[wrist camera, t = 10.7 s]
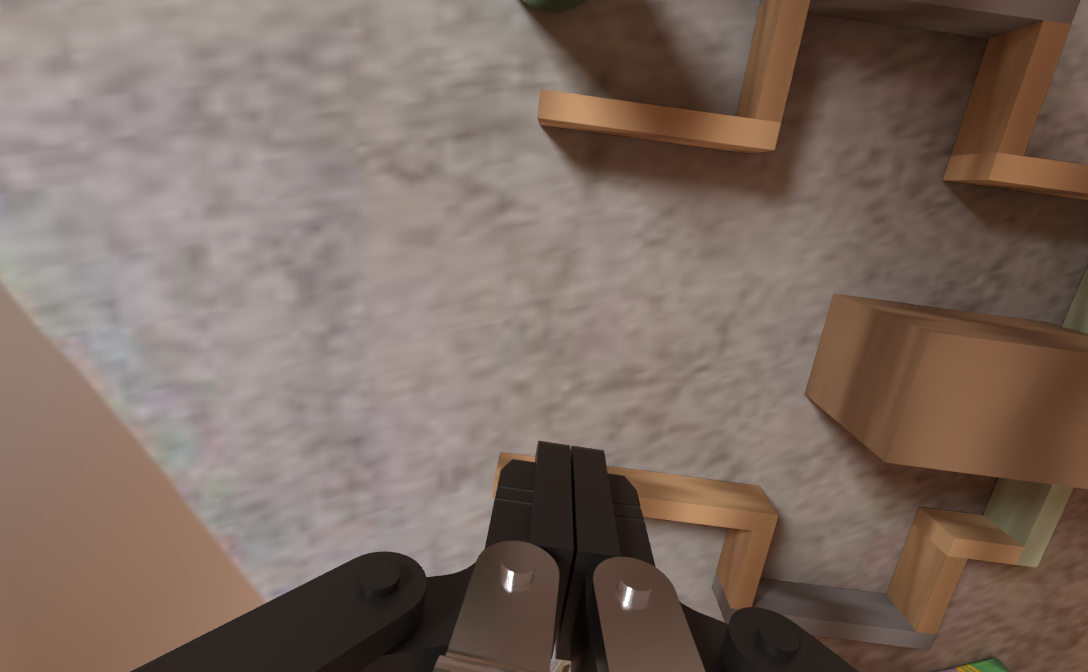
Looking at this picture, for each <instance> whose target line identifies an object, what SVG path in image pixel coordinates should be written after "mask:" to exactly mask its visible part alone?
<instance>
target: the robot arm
mask: <svg viewBox="0 0 1088 672" xmlns="http://www.w3.org/2000/svg"><path fill="white" fill-rule="evenodd" d="M640 507H641V505H640V501H639V497H638V493H637V490H636V489H635V488H634V486H633V485H632V484H631V483H630V482H629V481H628V479H627V478H626V477H625V476H623V475H617V474H610V473H608V472H607V466H606V460H605V454H604V451H603V450H598V449H591V448H584V447H578V446H572V447H571V450H570V445H564V444H557V443H551V442H544V441H538V445H537V450H536V456H535V462H530V461H523V460H516V459H512V460H511V461H510V462H509V463H508V464H507V465H505V466H504V467H503V468H502V469H501V471H500V476H499V481H498V486H497V491H496V496H495V501H494V506H493V511H492V516H491V521H490V526H489V531H488V535H487V540H486V545H485V549H484V551H482V553H481V554H480V555H479V557H478V559H477V561H476V562H475V563H474V564H473V565H472V566H470V567H468V568H467V569H465V570H462V571H460V572H457V573H453V574H449V575H443V576H434V577H426V575H425V572H424V570H423V569H422V567H421V566H420V565H419V564H418V563H417V562H416V561H415V560H413V559H412V558H410V557H408V556H406V555H403V554H400V553H395V552H374V553H368V554H365V555H362V556H359V557H357V558H355V559H353V560H351V561H349V562H347V563H345V564H343V565H341V566H339V567H337V568H335V569H333V570H331V571H329V572H327V573H325V574H323V575H321V576H319V577H317V578H315V579H313V580H311V581H309V582H307V583H305V584H303V585H301V586H299V587H297V588H295V589H293V590H291V591H289V592H287V593H285V594H283V595H281V596H279V597H277V598H275V599H273V600H271V601H269V602H267V603H265V604H263V605H261V606H260V607H258V608H256V609H254V610H252V611H250V612H248V613H246V614H244V615H242V616H240V617H238V618H236V619H234V620H232V621H230V622H228V623H226V624H224V625H222V626H220V627H218V628H216V629H214V630H212V631H210V632H208V633H206V634H204V635H202V636H200V637H198V638H196V639H194V640H192V641H190V642H188V643H186V644H185V645H182V646H180V647H178V648H176V649H175V650H172V651H170V652H169V653H166V654H165V655H163V656H161V657H159V658H157V659H155V660H153V661H151V662H149V663H147V664H145V665H143V666H141V667H139V668H137V669H135V670H133V671H131V672H550V663H551V659H552V655H553V650H554V645H555V640H556V659H559V660H566V661H570V662H571V672H858V671H857V670H856V669H854V668H853V667H852V666H850V665H849V664H848V663H846V662H845V661H844V660H843V659H841V658H840V657H839V656H837V655H836V654H835V653H834V652H832V651H831V650H830V649H828V648H827V647H826V646H825V645H823V644H822V643H821V642H819V641H818V640H817V639H816V638H814V637H813V636H812V635H810V634H809V633H808V632H806V631H805V630H804V629H803V628H801V627H800V626H799V625H797V624H796V623H795V622H793V621H792V620H790V619H788V618H787V617H785V616H783V615H781V614H779V613H777V612H774V611H771V610H768V609H764V608H759V607H746V608H741V609H739V610H737V611H736V612H735V613H733V614H732V616H731V618H730V620H729V623H728V624H726V623H724V622H721V621H719V620H716V619H714V618H711V617H709V616H706V615H704V614H701V613H699V612H697V611H695V610H693V609H691V608H689V607H687V606H685V605H684V604H682V603H681V602H680V601H679V599H678V596H677V593H676V591H675V589H674V586H673V584H672V583H671V582H670V580H669V579H668V578H667V577H666V576H665V574H663V573H662V572H661V571H660V570H659V569H657V568H656V567H655V563H654V559H653V555H652V551H651V547H650V542H649V538H648V534H647V530H646V526H645V522H644V518H643V514H642V509H640Z"/></svg>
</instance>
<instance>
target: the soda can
mask: <svg viewBox="0 0 1088 672" xmlns="http://www.w3.org/2000/svg"><path fill="white" fill-rule="evenodd" d="M523 1H524V2H525V3H527V4H528V5H530V6H532V7H534V8H537V9H539V10H544V11H562V10H566V9H569V8H572V7H574V6H576V5H578V4H580V3H581V2H582V1H584V0H523Z"/></svg>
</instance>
